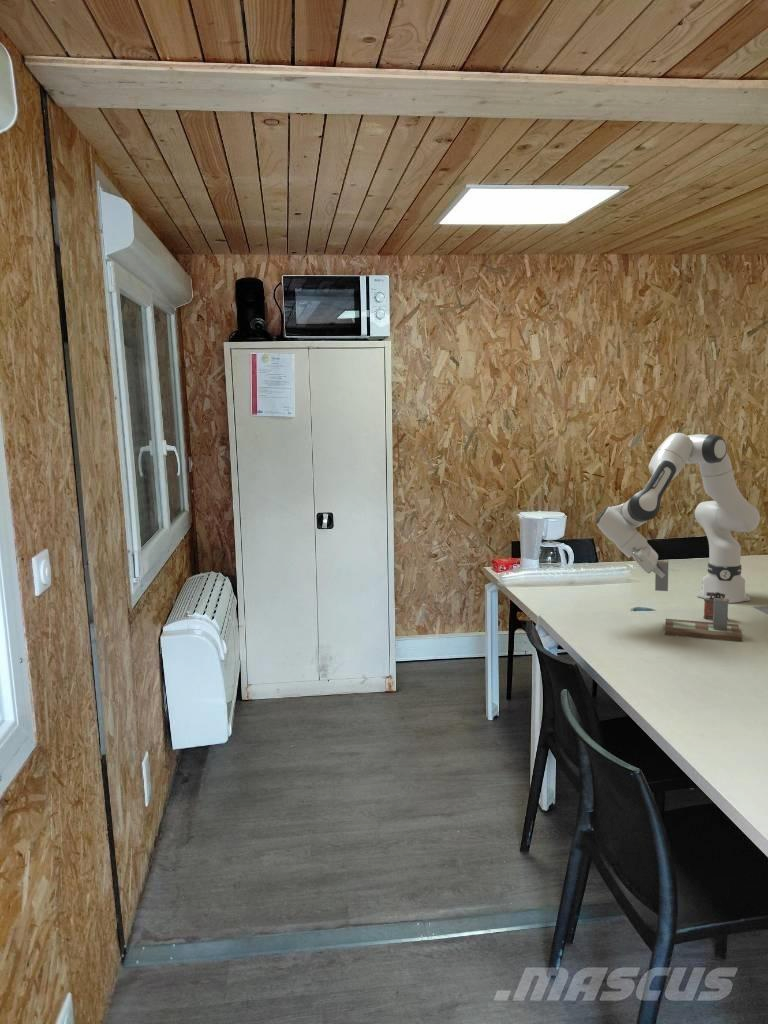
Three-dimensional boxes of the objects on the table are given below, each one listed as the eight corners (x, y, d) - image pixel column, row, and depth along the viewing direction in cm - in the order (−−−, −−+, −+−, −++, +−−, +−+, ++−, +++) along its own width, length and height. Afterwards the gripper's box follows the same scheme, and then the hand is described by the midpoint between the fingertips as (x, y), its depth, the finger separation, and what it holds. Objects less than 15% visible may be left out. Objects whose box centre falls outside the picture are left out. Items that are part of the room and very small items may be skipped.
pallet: (665, 622, 236) (665, 618, 236) (738, 628, 227) (738, 623, 227) (664, 634, 224) (664, 629, 224) (741, 641, 214) (741, 636, 214)
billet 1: (655, 587, 233) (656, 559, 232) (668, 588, 232) (668, 560, 230) (655, 590, 230) (655, 561, 228) (667, 591, 228) (668, 562, 227)
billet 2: (712, 626, 226) (713, 597, 224) (726, 627, 224) (727, 597, 223) (713, 629, 222) (714, 600, 221) (726, 630, 220) (727, 601, 219)
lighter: (726, 618, 239) (727, 591, 238) (729, 620, 236) (730, 593, 235) (702, 617, 241) (703, 590, 240) (704, 619, 238) (705, 592, 237)
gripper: (639, 545, 222) (670, 575, 219) (642, 534, 240) (671, 562, 237) (625, 557, 224) (655, 587, 222) (629, 546, 243) (658, 573, 240)
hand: (663, 574), depth 230 cm, fingers closed on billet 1, 4 cm apart
